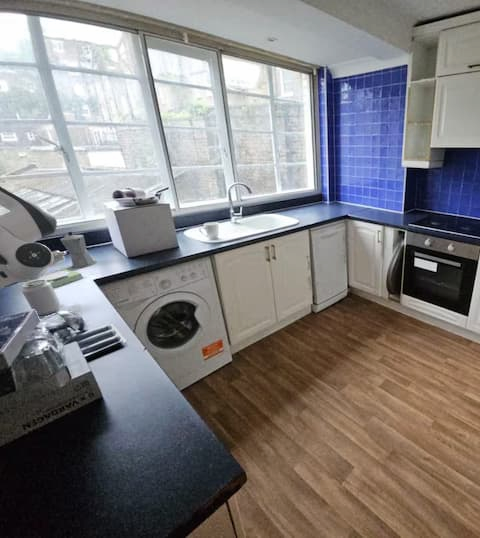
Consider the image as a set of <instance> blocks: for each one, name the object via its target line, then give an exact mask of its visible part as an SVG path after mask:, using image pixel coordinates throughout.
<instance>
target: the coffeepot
mask: <svg viewBox="0 0 480 538" xmlns="http://www.w3.org/2000/svg"><path fill="white" fill-rule="evenodd" d="M67 234H68V235H66V234H64V235H63V236H62V238H60V242H61V243H62V244H63V246H64V248H65V249H66V251H67V252H69V255H70V259H71V264H72V267H73V268H75V269H80V268H85V267H89V266H92V265H94V264H95V260H94V259H93V257H92V255H91V254H90V252H88V250H87V244H86V240H85V236H84V235H83V234H73V232H72V231H68V232H67Z"/></svg>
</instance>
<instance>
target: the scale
mask: <svg viewBox="0 0 480 538" xmlns="http://www.w3.org/2000/svg"><path fill="white" fill-rule="evenodd" d="M81 279H83V275H82V273H81V272H77V271H74V270H69V269H66V268H64V269H62V270H58V271H55V272H51V273H46V274H44V275H43V276H42V277H40V278H38V279H35V280H29V281H26V283H29V282H32V281H36V280H46V282H49V283H50V284H51V285H52V287H53V289H54V288H57V287H60V286H63V285H66V284H69V283H72V282H76V281H78V280H81Z"/></svg>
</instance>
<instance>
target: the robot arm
mask: <svg viewBox="0 0 480 538" xmlns="http://www.w3.org/2000/svg"><path fill="white" fill-rule="evenodd" d="M0 207H2V208H4V209H6V210H8V211H7V212H5V213H3V214H1V215H0V290H2V289H5V288H8V287H11V286H14V285H17V284H20V283H27V281H29V280H35V279H38V278H40V277H42V276H44V275H46V274H47V272H48V271H49V269H50V268H52V267H54V266H57V265H59V264H63V263H64V262H65V261H66V257H65V255H67V252H66V251H62V252H61V251H60V250H53V251H52V250H51V249H50V248H49V247H47V246H46V245H45V244H42V243H39V242H36V241H38V240H40V239H44V238H47V237H49V236H51V235H53V234H55V232H56V230H57V224H58V222H57V219H56V218H55V216H54V215H53V214H51V213H50V212H49V210H46V209H45V208H43V207H41V206H39V205H37V204H35V203H33V202H30V201H28V200H26V199H24V198H23V197H20V196H19V195H17V194H15V193H13V192H12V191H9V190H8V189H6V188H4V187H3V186H1V185H0Z"/></svg>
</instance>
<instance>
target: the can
mask: <svg viewBox="0 0 480 538" xmlns="http://www.w3.org/2000/svg"><path fill="white" fill-rule="evenodd" d="M21 287H22V289H21V293H22V294H23V296H24V298H25V299H26V301H27V303H28V305H29V307H30V308H31V310H32V309H35V310H36V311H37V313H38V314H37V315H39V316H45V315H50V314H52V313H55V312H57V311H59V310H60V309H61V307H62V303H61V301H60V299H59V297H58V295H57V293H56V291H55V290H54V288H53V287H52V285H51V284H50V283H49V282H46V280H36V281H32V282H29V283H28V282H25V283H24V284H23V285H22V286H21Z"/></svg>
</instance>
